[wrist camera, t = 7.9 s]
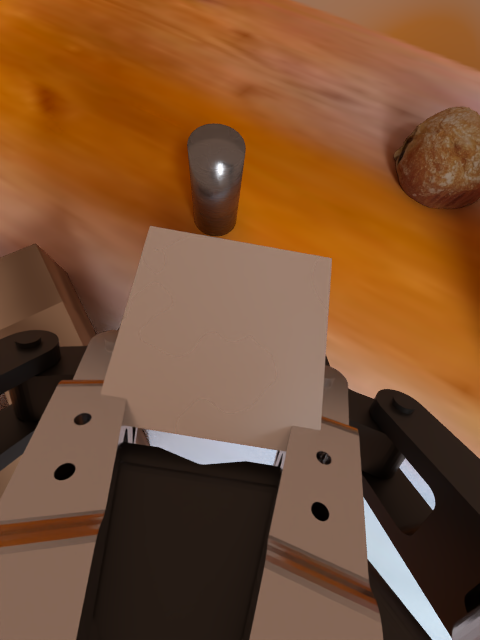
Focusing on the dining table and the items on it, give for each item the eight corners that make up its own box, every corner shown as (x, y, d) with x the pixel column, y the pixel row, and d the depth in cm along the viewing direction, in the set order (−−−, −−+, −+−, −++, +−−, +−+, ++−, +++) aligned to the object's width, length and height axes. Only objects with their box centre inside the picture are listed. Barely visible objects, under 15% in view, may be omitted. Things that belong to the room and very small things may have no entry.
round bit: (222, 194, 28) (226, 116, 21) (244, 225, 28) (256, 156, 20) (186, 210, 27) (176, 135, 20) (208, 243, 27) (206, 178, 19)
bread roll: (391, 161, 37) (399, 96, 30) (492, 148, 33) (529, 70, 26) (387, 225, 34) (396, 169, 27) (498, 219, 30) (542, 152, 23)
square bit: (262, 349, 16) (331, 258, 6) (252, 425, 15) (318, 456, 5) (190, 337, 16) (150, 225, 6) (174, 413, 14) (92, 420, 5)
